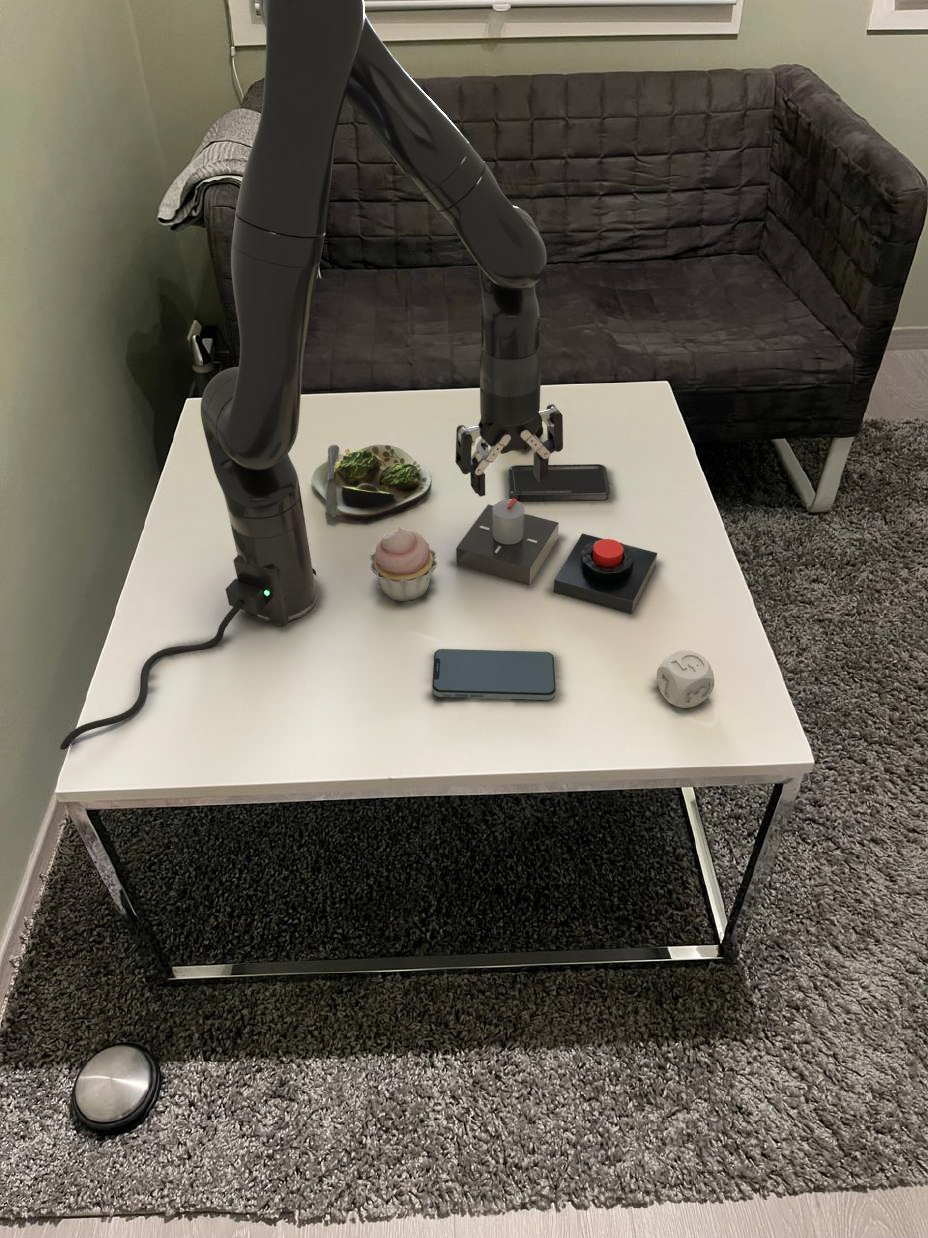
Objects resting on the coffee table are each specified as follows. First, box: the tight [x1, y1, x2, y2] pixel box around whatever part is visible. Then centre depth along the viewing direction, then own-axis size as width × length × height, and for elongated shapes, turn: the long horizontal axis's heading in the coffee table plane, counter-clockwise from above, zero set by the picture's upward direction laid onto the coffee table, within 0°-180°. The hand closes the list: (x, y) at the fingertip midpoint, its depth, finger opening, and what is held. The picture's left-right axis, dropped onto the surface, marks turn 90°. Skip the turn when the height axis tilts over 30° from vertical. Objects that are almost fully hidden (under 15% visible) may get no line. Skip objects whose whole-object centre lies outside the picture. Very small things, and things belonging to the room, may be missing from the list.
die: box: [656, 649, 715, 709], centre depth 122 cm, size 5×5×5 cm
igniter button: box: [593, 538, 623, 567], centre depth 136 cm, size 4×4×2 cm
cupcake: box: [368, 527, 439, 602], centre depth 135 cm, size 9×9×10 cm
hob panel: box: [455, 503, 560, 586], centre depth 142 cm, size 11×11×3 cm
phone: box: [508, 463, 611, 502], centre depth 154 cm, size 8×1×15 cm
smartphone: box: [431, 648, 557, 701], centre depth 125 cm, size 8×2×15 cm
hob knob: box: [492, 498, 526, 545], centre depth 140 cm, size 4×4×5 cm
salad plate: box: [310, 443, 433, 522], centre depth 155 cm, size 19×18×5 cm
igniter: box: [553, 533, 658, 615], centre depth 138 cm, size 11×11×4 cm
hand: (509, 485), depth 136 cm, fingers open, 8 cm apart
